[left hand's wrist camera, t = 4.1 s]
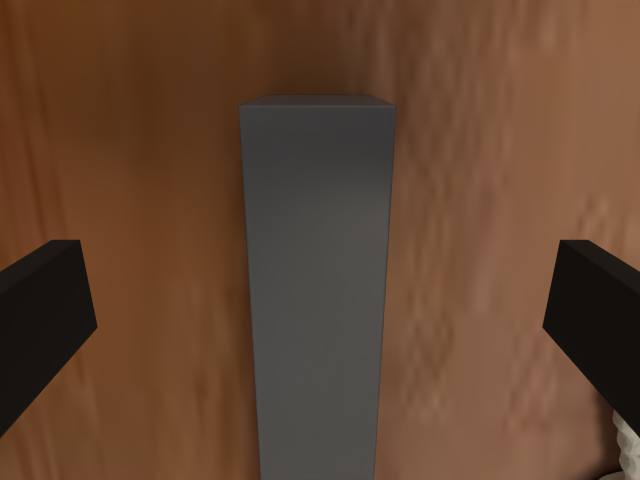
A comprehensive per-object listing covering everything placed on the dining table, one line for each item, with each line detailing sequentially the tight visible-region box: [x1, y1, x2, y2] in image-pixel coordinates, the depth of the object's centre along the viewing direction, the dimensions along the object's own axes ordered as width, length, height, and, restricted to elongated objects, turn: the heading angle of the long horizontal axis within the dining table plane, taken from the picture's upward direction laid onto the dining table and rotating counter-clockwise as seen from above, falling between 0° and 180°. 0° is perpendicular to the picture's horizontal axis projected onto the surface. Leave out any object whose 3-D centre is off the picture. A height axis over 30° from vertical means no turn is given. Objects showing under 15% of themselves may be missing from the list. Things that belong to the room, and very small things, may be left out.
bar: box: [239, 95, 396, 480], centre depth 24 cm, size 29×6×8 cm, turn 0°
